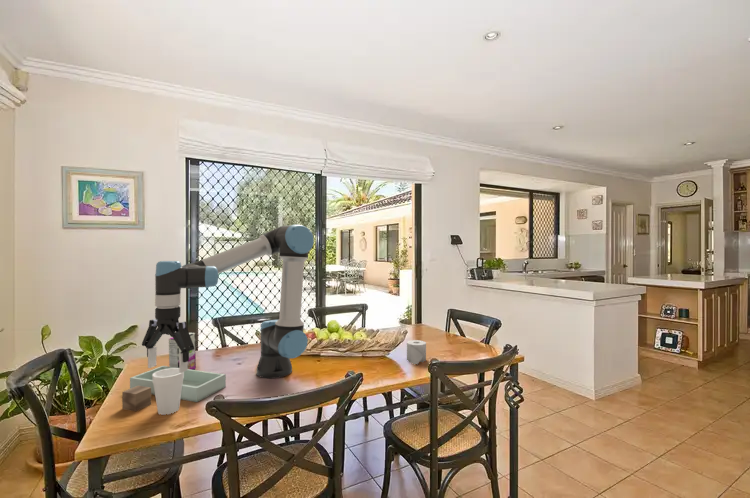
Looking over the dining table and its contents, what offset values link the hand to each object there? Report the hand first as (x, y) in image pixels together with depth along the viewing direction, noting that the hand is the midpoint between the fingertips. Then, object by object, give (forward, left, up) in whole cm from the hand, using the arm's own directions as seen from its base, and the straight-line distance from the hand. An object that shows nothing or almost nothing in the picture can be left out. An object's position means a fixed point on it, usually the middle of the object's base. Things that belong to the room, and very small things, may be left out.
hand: (167, 369), depth 127 cm
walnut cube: (+13, +1, -14) cm, 19 cm away
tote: (+12, -16, -14) cm, 25 cm away
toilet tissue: (-69, -81, -14) cm, 107 cm away
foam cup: (0, 0, -14) cm, 14 cm away
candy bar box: (+25, -31, -14) cm, 42 cm away
